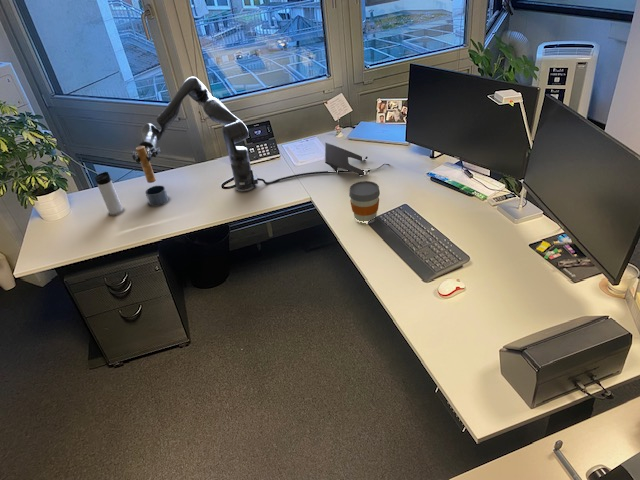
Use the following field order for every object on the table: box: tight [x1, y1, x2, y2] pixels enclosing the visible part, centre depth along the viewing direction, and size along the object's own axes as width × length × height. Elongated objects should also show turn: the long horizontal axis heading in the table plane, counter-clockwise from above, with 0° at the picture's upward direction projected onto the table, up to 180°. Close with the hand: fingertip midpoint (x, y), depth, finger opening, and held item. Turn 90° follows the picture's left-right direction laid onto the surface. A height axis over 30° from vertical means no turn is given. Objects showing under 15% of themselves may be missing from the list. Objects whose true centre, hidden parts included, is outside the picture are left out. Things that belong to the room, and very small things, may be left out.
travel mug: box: [94, 171, 124, 216], centre depth 216 cm, size 6×7×20 cm
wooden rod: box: [135, 145, 157, 184], centre depth 214 cm, size 4×4×17 cm
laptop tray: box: [324, 142, 371, 176], centre depth 234 cm, size 23×23×9 cm
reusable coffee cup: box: [348, 180, 381, 226], centre depth 193 cm, size 13×12×15 cm
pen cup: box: [144, 185, 169, 207], centre depth 225 cm, size 9×9×6 cm
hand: (142, 160), depth 210 cm, fingers closed on wooden rod, 4 cm apart
